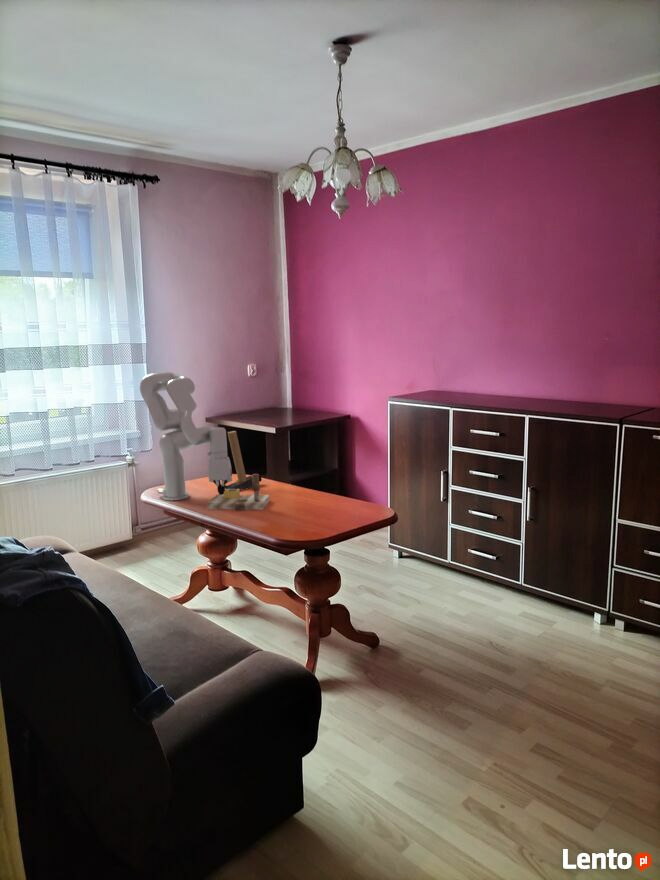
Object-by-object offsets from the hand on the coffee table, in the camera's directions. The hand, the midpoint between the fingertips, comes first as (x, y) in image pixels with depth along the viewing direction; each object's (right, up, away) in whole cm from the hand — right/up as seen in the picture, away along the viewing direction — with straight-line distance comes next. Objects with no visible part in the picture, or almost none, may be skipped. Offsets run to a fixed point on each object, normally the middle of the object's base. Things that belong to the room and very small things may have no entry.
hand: (221, 494), depth 295 cm
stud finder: (+5, -1, 0) cm, 5 cm away
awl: (+17, -2, -8) cm, 19 cm away
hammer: (+6, 0, +27) cm, 28 cm away
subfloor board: (+9, -5, -4) cm, 10 cm away
